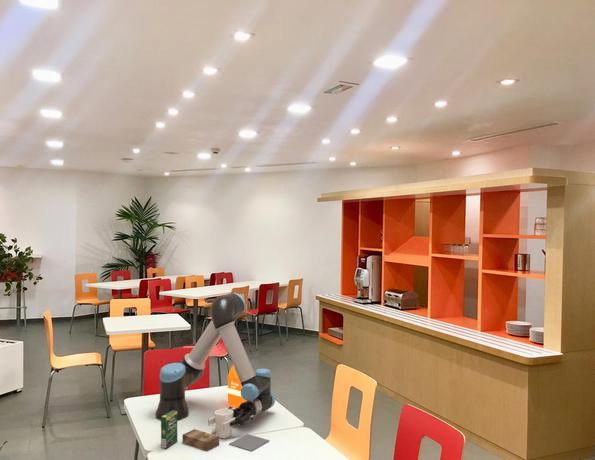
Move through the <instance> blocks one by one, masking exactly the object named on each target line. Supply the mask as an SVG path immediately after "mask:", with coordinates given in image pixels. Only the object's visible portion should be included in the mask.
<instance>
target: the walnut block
mask: <svg viewBox="0 0 595 460" xmlns="http://www.w3.org/2000/svg"><path fill="white" fill-rule="evenodd" d="M182 444H184V445H187V446H191V447H192V448H193V447H194V448H196V449H200V450H202V451H206V452H209V451H211V450H213V449H215V448H216V447H218V446H220V438H219V436H216V434H212V433H210V432H206V431H202V430H199V429H196V428H193V429H192V430H190V431H187V432H186V433H183V434H182Z"/></svg>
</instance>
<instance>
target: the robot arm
mask: <svg viewBox="0 0 595 460" xmlns="http://www.w3.org/2000/svg"><path fill="white" fill-rule="evenodd" d="M246 308H247V304H246V300H245V298H244V297H243V296H242V295H241V294H239V293H236V292H230V293H228V294H225V295H221V296H218V297H216V298H215V299H213V301H212V303H211V305H210V317H211V320H210V322H209V324H208V325H207V326H206V328H205V330H204V331H203V333H202V334H201V336H200V337H199V338H198V340H197V342H196V343H195V345H194V346H193V348H192V349H191V351H190V353H185V355H184V356H183V358H182V359H181V361H180V362H172V363H169V364H168V363H167V364H165V365H163V366H162V367H161V368H160V371H159V372H160V373H159V401H158V404H157V405H158V406H157V409H156V410H155V417H157V418H158V419H157V418H156V419H157V420H159V419H160V420H159V421H161V417H162V416H164V415H165V414H167V413H169V412H170V411H172V410H174V411H177V421H178V420H179V421H180V420H182V419H185V418H187V417H189V406H188V403H187V399H186V388H187V387H189V386H191V385H193V384H195V383H197V382H198V381H199V380H200V379H201V378H202V377H203V374H204V369H205V368H206V363H205V362H206V360H207V359H208V358H209V356H210V355H211V353H212V352H213V350H214V348H216V345H217V344H218V343H219V341H220V340H222V342H223V345H224V347H225V349H226V352H227V353H228V356H229V358H230V361H231V364H232V365H233V366H234V368H235V371H236V373H237V376H238V378H239V380H240V383H241V386H242V388H241V396H242V398H243V399H245V400H247V401H245V402H243V403H241V404H240V406H239V407H238V408H237V407H234V408H233V406H229V407H228V408H226V409H231V410H233V419H231V420H229V421H227V422H225V423H223V430H226V429H228V428H230V427H232V428H233V427H235V426H238V425H239V427H240V426H243V425H244V424H247V422H249V421H251V420H253V419H254V417H255V416H257V415H258V414H261V413H263V412H265V411H268V410H270V409H271V408H272V407H274V406H275V403H276V398H275V395H274V394H273V393H272V392H271V390H272V389H271V387H272V386H271V384H272V381H271V380H272V379H271V378H272V374H271V373H272V372H271V369H268V368H258V369H256V370H255V371H254V369H253V366H252V364H251V362H250V359H249V357H248V354H247V352H246V350H245V347H244V346H243V342H242V340H241V338H240V335H239V332H238V330H237V328H236V326H235V323H236V321H237V319H239V317H240V316H242V315H243V314H244V313H245V311H246ZM207 424H208V426H209V427H210V426H212V425H215V415H214V416H212V417H211V418H209V419H208V423H207Z"/></svg>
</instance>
